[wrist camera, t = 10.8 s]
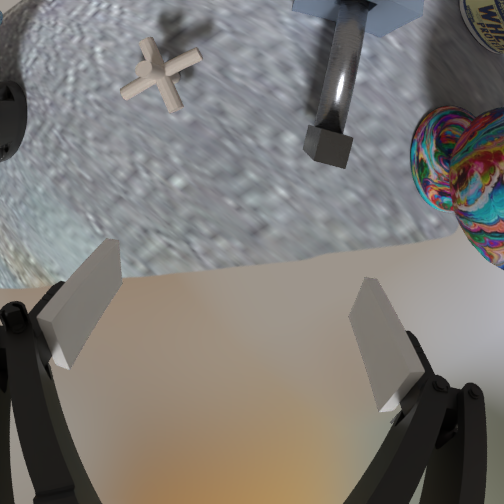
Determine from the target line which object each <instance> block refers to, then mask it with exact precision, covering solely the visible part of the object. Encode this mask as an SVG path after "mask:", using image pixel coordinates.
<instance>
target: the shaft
mask: <svg viewBox="0 0 504 504" xmlns="http://www.w3.org/2000/svg"><path fill="white" fill-rule="evenodd" d="M369 3H370V1H368V0H341V1H340V6H339V11H338V17H337V22H336V27H335V32H334V37H333V42H332V47H331V52H330V56H329V61H328V66H327V71H326V75H325V80H324V84H323V89H322V94H321V98H320V103H319V107H318V111H317V116H316V120H315V124H314V126H311V125H308V129H307V134H306V138H305V142H304V146H303V150H304V151H305V152H306V153H307V154H308V155H309V156H310V157H311V158H312V159H313V160H314V161H317V162H321V163H325V164H328V165H332V166H336V167H340V168H343V169H345V168H346V165H347V161H348V157H349V153H350V150H351V146H352V142H353V138H352V137H349V136H346V135H343V132H344V128H345V123H346V119H347V115H348V111H349V106H350V102H351V98H352V93H353V89H354V84H355V79H356V74H357V70H358V65H359V60H360V55H361V49H362V44H363V39H364V33H365V28H366V22H367V16H368V10H369Z"/></svg>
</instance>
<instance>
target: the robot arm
mask: <svg viewBox="0 0 504 504" xmlns="http://www.w3.org/2000/svg"><path fill="white" fill-rule="evenodd" d="M2 19H3V15H2V12H1V11H0V25H1V23H2ZM26 119H27V109H26V101H25V97H24V94H23V92H22V90H21V88H20V87H19V85H18V84H16V83H15V82H12V81H2V82H0V162H2V161H5V160H8V159H9V158H11V157H12V156H13V155H14V154H15V153H16V151H17V150H18V148H19V146H20V144H21V142H22V139H23V136H24V132H25V127H26ZM121 285H122V273H121V262H120V249H119V240H114V239H108V238H106V239H105V240H104V241H103V242H102V243H101V245H100V246H99V247H98V248H97V249H96V250H95V251H94V252H93V253H92V254H91V255H90V256H89V257H88V258H87V259H86V260H85V261H84V262H83V263H82V265H81V266H80V267H79V268H78V269H77V270H76V271H75V272H74V273H73V274H72V275H71V277H70V278H69V279H68V280H67V281H66V282H63V281H60V282H58V283H56V284H55V285H53V286H52V287H51V288H50V289H49V290H48V291H47V293H46V294H45V295H44V296H43V297H42V299H41V300H40V301H39V302H38V303H37V304H36V305H35V306H34V308H33V309H32V310H31V311H30V312H29V314H28V313H27V310H26V307H25V305H24V304H23V303H22V302H19V301H14V302H10V303H7V304H6V305H5V306H3V307H2V309H1V310H0V320H1V322H2V324H3V326H0V504H15V503H14V496H13V488H12V478H11V466H10V436H9V435H10V407H11V401H12V407H13V412H14V418H15V423H16V427H17V432H18V436H19V440H20V444H21V448H22V452H23V456H24V459H25V462H26V466H27V469H28V472H29V475H30V478H31V481H32V483H33V486H34V489H35V494H36V496H35V497H34V499H33V503H34V504H102V503H101V501H100V499H99V497H98V495H97V493H96V491H95V490H94V488H93V486H92V484H91V481H90V479H89V477H88V475H87V473H86V471H85V469H84V466H83V464H82V462H81V460H80V457H79V455H78V453H77V450H76V448H75V445H74V442H73V440H72V437H71V434H70V432H69V429H68V426H67V423H66V420H65V418H64V414H63V411H62V408H61V405H60V401H59V398H58V394H57V391H56V387H55V383H54V380H53V375H52V371H51V367H50V365H49V363H48V362H49V360H50V358H51V357H53V359H54V361H55V363H56V365H58V366H60V367H63V368H66V369H68V370H70V369H71V367H72V365H73V364H74V362H75V360H76V358H77V356H78V355H79V353H80V351H81V350H82V347H83V346H84V344H85V343H86V341H87V339H88V338H89V336H90V334H91V332H92V331H93V329H94V328H95V326H96V324H97V322H98V321H99V319H100V318H101V316H102V315H103V313H104V311H105V310H106V308H107V307H108V305H109V303H110V302H111V300H112V299H113V297H114V296H115V294H116V293H117V291H118V290H119V288H120V287H121ZM349 319H350V322H351V325H352V328H353V331H354V334H355V336H356V340H357V343H358V346H359V349H360V352H361V355H362V358H363V361H364V364H365V368H366V371H367V374H368V377H369V380H370V384H371V387H372V391H373V394H374V397H375V401H376V404H377V408H378V412H385V411H393V410H394V409H395V408H396V407H397V406H398V404H399V403H400V405H401V408H402V410H401V411H400V412H399V413H398V414H397V415H396V416H395V418H394V419H393V420H392V421H391V422H390V423H391V424H392V423H393V422H394V423H393V425H392V427H391V429H390V431H389V432H388V434H387V436H386V438H385V440H384V442H383V443H382V445H381V447H380V449H379V450H378V452H377V454H376V455H375V457H374V459H373V460H372V462H371V464H370V465H369V467H368V468H367V470H366V471H365V473H364V475H363V476H362V478H361V479H360V481H359V482H358V484H357V485H356V486H355V488H354V489H353V491H352V492H351V493H350V495H349V496H348V498H347V499H346V500H345V502H344V503H343V504H409V502H410V500H411V498H412V496H413V494H414V492H415V490H416V488H417V486H418V484H419V482H420V479H421V477H422V475H423V473H424V470H425V468H426V466H427V468H426V474H425V479H424V484H423V489H422V493H421V498H420V502H419V504H484V498H485V488H486V472H487V432H486V416H485V415H486V414H485V403H484V396H483V392H482V390H481V389H480V387H478V386H477V385H476V384H474V383H467V384H465V386H464V387H463V388H462V389H456V388H452V387H450V385H449V383H448V382H447V381H446V379H444V378H443V377H442V376H439V375H435V374H434V372H433V370H432V368H431V365H430V363H429V361H428V359H427V357H426V355H425V354H424V351H423V349H422V347H420V346H421V345H420V343H419V342H418V340H417V338H416V337H415V336H414V335H413V334H412V333H411V332H410V331H405V330H404V327H403V325H402V323H401V322H400V320H399V318H398V316H397V314H396V312H395V310H394V309H393V307H392V305H391V303H390V301H389V299H388V297H387V296H386V294H385V292H384V290H383V289H382V287H381V285H380V283H379V282H378V280H377V279H374V278H367V277H365V278H364V281H363V283H362V286H361V288H360V291H359V293H358V296H357V298H356V301H355V303H354V305H353V307H352V310H351V312H350V314H349ZM457 427H458V428H457Z"/></svg>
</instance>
